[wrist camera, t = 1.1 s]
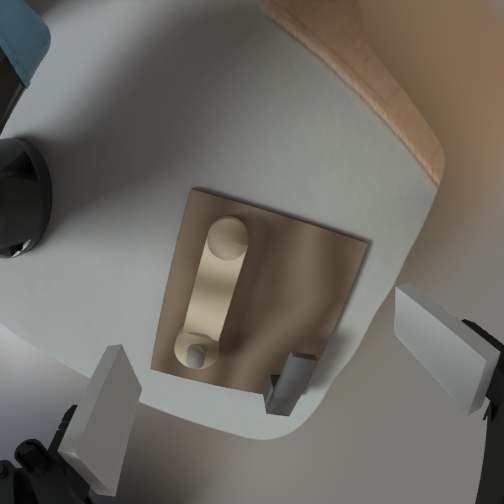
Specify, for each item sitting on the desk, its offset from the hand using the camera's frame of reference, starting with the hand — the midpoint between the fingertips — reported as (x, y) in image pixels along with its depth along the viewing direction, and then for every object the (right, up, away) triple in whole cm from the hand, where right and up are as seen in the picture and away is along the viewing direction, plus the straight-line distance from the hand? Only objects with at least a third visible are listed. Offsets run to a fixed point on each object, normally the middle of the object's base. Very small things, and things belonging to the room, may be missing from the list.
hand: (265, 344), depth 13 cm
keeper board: (-1, -3, +23) cm, 23 cm away
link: (-5, 0, +20) cm, 21 cm away
